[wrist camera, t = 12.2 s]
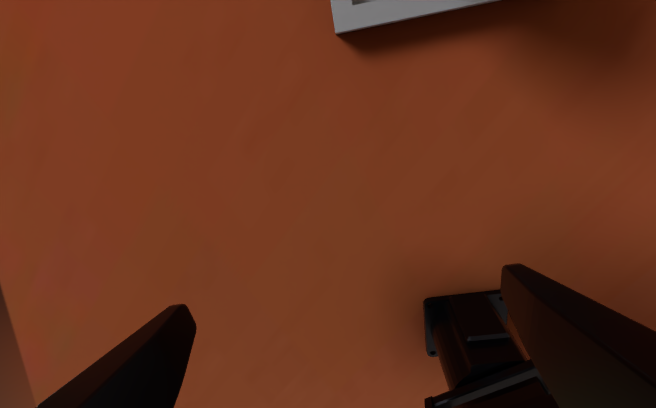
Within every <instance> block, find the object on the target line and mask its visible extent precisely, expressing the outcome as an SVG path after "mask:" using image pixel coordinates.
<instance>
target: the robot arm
mask: <svg viewBox="0 0 656 408" xmlns="http://www.w3.org/2000/svg"><path fill="white" fill-rule="evenodd" d="M500 296H502V297H500ZM428 304H430V305H428ZM423 309H424V325H425V340H426V351H427V354H428V356H430V357H436V356H438V357H439V360H440V363H441V366H442V369H443V372H444V375H445V378H446V381H447V384H448V388H449V391H448V392H445V393H443V394H440V395H437V396H435V397H432V396H431V397H428V398H426V399H425V408H656V331H654V330H652V329H650V328H648V327H646V326H644V325H642V324H640V323H638V322H636V321H634V320H632V319H630V318H628V317H626V316H624V315H622V314H620V313H618V312H616V311H614V310H612V309H610V308H608V307H606V306H604V305H602V304H600V303H598V302H596V301H594V300H592V299H590V298H588V297H586V296H584V295H582V294H580V293H578V292H576V291H574V290H572V289H570V288H568V287H566V286H564V285H562V284H560V283H558V282H556V281H554V280H552V279H550V278H548V277H546V276H544V275H542V274H540V273H538V272H536V271H534V270H532V269H530V268H528V267H526V266H524V265H522V264H509V265H505V266H503V268H502V275H501V290H494V291H485V292H476V293H467V294H458V295H449V296H440V297H431V298H426V299H425V300H424V301H423ZM508 312H509V314H510V316H511V318H512V320H513V323H514V325H515V327H516V329H517V331H518V334H519V336H520V338H521V340H522V342H523V345H524V347H525V349H526V351H527V353H528V354H529V356H530V358H531V359H530V360H527V359H526V357H525V355H524V354H523V352H522V350H521V349H520V347H519V345H518V344H517V342H516V340H515V339H514V337H513V335H512V334H511V332H510V331H509V329H508V327H507V326H506V325H507V314H508ZM195 334H196V323H195V321H194V319H193V317H192V315H191V313H190V311H189V309H188V307H187V306H186V305H185V304H178V305H171V306H169V307H168V308H166V309H165V310H164V311H162V312H161V313H160V314H158V315H157V316H156V317H154V318H153V319H152V320H151V321H149V322H148V323H147V324H145V325H144V326H143V327H141V328H140V329H139V330H137V331H136V332H135V333H133V334H132V335H131V336H129V337H128V338H127V339H125V340H124V341H123V342H121V343H120V344H119V345H117V346H116V347H115V348H113V349H112V350H111V351H109V352H108V353H107V354H105V355H104V356H103V357H101V358H100V359H99V360H97V361H96V362H95V363H93V364H92V365H91V366H89V367H88V368H87V369H85V370H84V371H83V372H81V373H80V374H79V375H77V376H76V377H75V378H73V379H72V380H71V381H69V382H68V383H67V384H65V385H64V386H63V387H61V388H60V389H59V390H57V391H56V392H55V393H53V394H52V395H51V396H49V397H48V398H47V399H46V400H44V401H43V402H42V403H40V404H39V405H38V406H37V408H174V405H175V402H176V400H177V397H178V394H179V391H180V388H181V386H182V382H183V379H184V376H185V372H186V368H187V364H188V361H189V357H190V353H191V349H192V345H193V342H194V338H195Z"/></svg>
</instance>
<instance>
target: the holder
mask: <svg viewBox="0 0 656 408" xmlns="http://www.w3.org/2000/svg"><path fill="white" fill-rule="evenodd" d="M496 1H501V0H331V7H332V14H333V20H334V27H335V33H336V35H337V34H342V33H347V32H352V31H357V30H361V29H366V28H371V27H376V26H381V25H386V24H390V23H395V22H400V21H405V20H410V19H414V18H419V17H424V16H429V15H434V14H439V13H443V12H448V11H453V10H458V9H463V8H467V7H472V6H477V5H482V4H487V3H492V2H496Z"/></svg>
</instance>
